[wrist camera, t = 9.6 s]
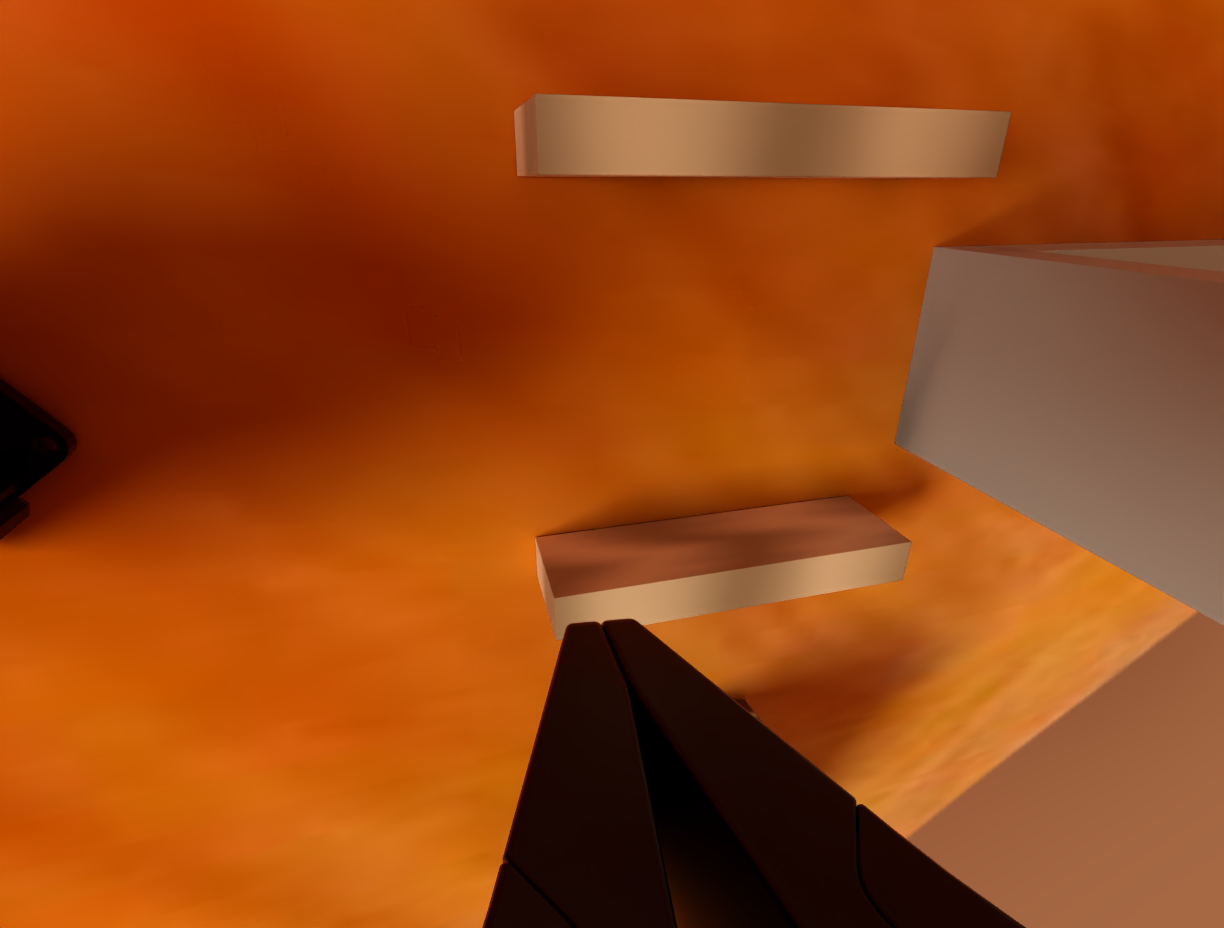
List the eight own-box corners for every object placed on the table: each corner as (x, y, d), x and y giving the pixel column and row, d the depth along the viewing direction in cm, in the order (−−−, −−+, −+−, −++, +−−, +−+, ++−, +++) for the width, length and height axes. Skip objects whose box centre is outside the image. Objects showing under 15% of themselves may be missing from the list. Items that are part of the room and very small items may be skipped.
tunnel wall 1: (537, 575, 22) (556, 640, 18) (535, 537, 21) (554, 598, 18) (842, 529, 24) (902, 579, 21) (848, 495, 24) (911, 541, 21)
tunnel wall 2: (517, 176, 17) (538, 174, 13) (513, 111, 16) (535, 93, 13) (905, 178, 19) (996, 177, 16) (915, 123, 19) (1011, 111, 16)
